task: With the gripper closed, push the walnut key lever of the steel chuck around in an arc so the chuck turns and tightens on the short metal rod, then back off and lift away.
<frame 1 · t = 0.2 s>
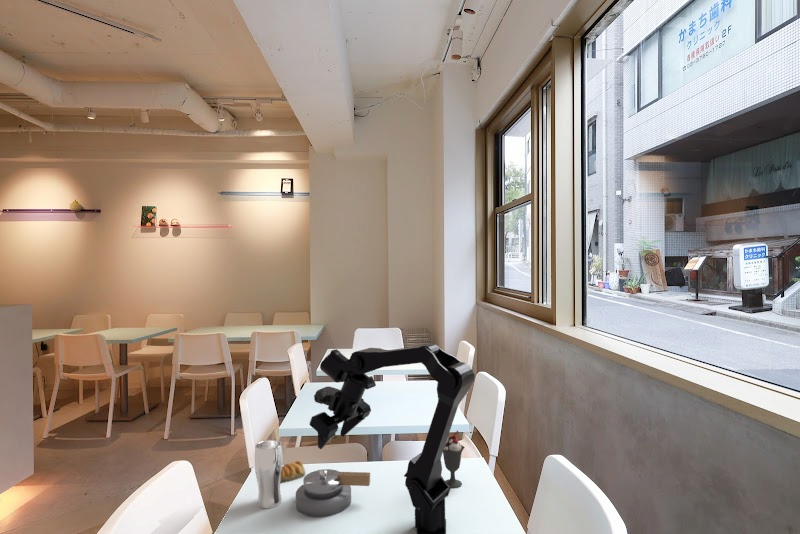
hand: (331, 441, 123), 14 cm above the table, tool tilted 30°, fingers open, 9 cm apart
chuck: (336, 480, 119), point 6 cm above the table, hinge at 0.0°
beer glass: (269, 503, 120), on the table
sundae: (453, 484, 128), on the table
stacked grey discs: (323, 502, 120), on the table
pastry: (289, 478, 135), on the table
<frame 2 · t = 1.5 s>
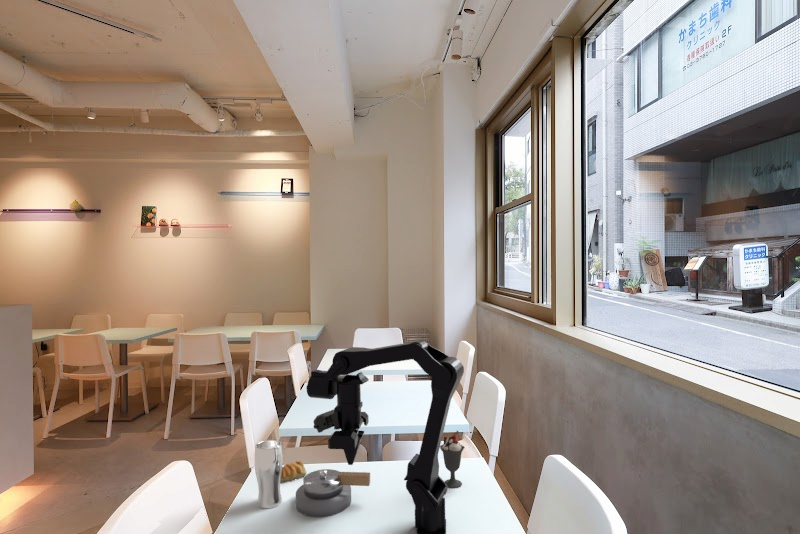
hand: (350, 464, 114), 12 cm above the table, tool pointing down, fingers closed
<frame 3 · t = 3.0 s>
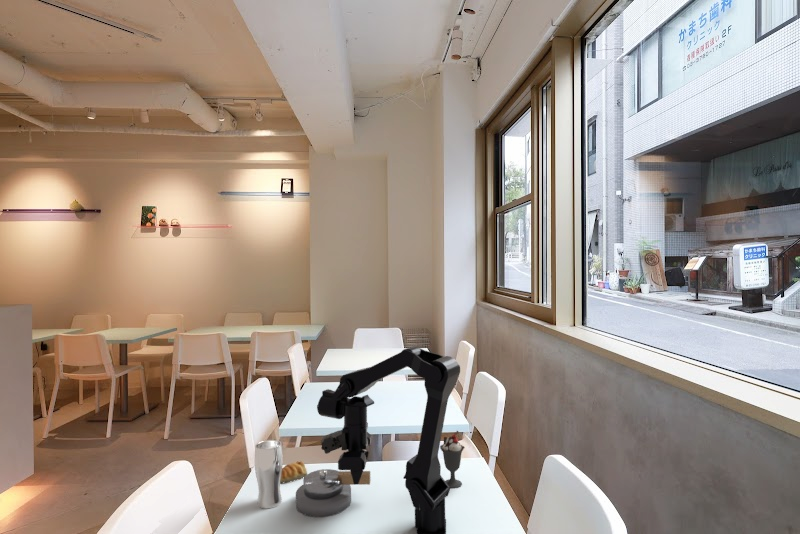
hand: (356, 484, 117), 6 cm above the table, tool pointing down, fingers closed
chuck: (336, 480, 120), point 6 cm above the table, hinge at 3.9°, touching gripper
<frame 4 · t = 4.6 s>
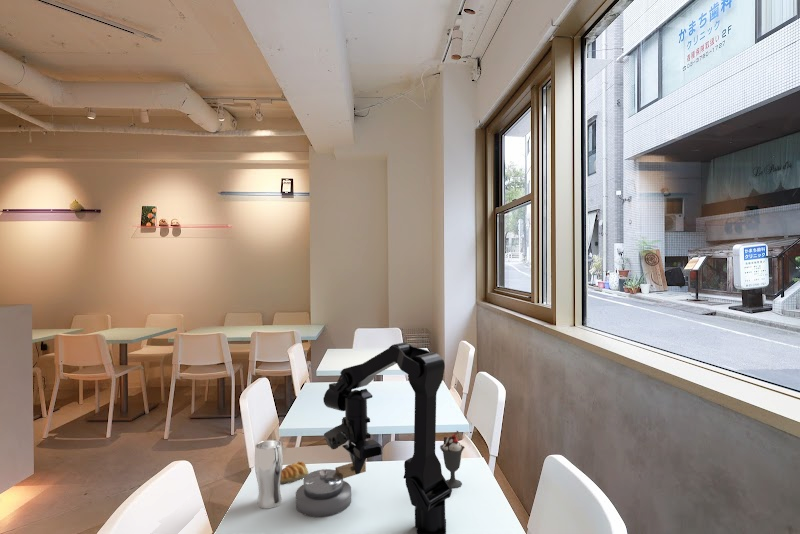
hand: (357, 473, 123), 6 cm above the table, tool pointing down, fingers closed
chuck: (335, 476, 122), point 6 cm above the table, hinge at 40.9°, touching gripper
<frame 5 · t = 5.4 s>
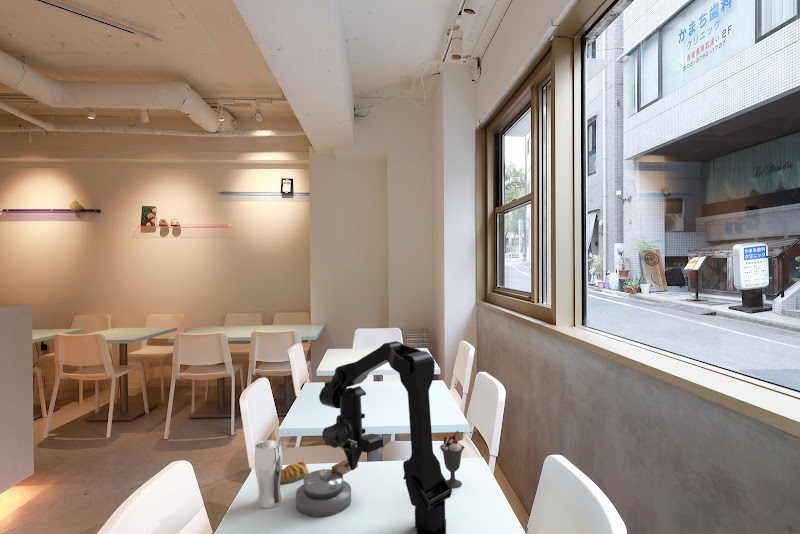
hand: (353, 469, 126), 6 cm above the table, tool pointing down, fingers closed
chuck: (333, 475, 123), point 6 cm above the table, hinge at 59.2°, touching gripper
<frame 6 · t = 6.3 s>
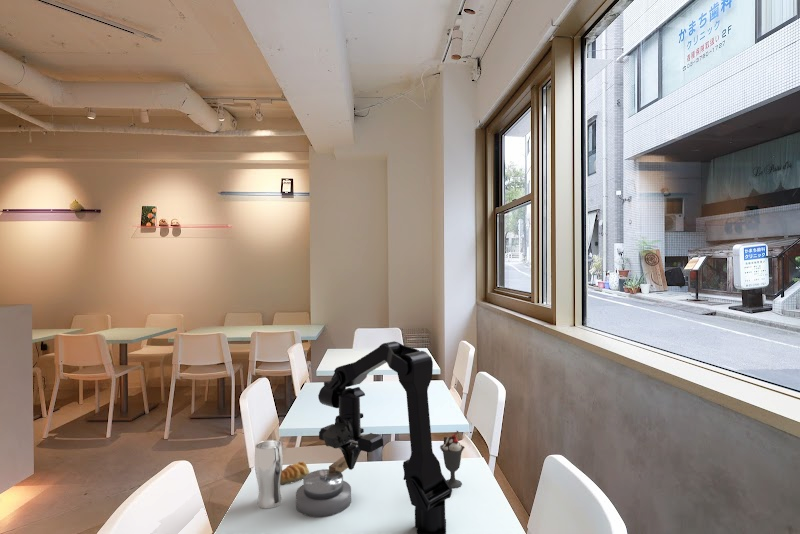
hand: (351, 469, 127), 5 cm above the table, tool pointing down, fingers closed
chuck: (331, 474, 123), point 6 cm above the table, hinge at 70.1°
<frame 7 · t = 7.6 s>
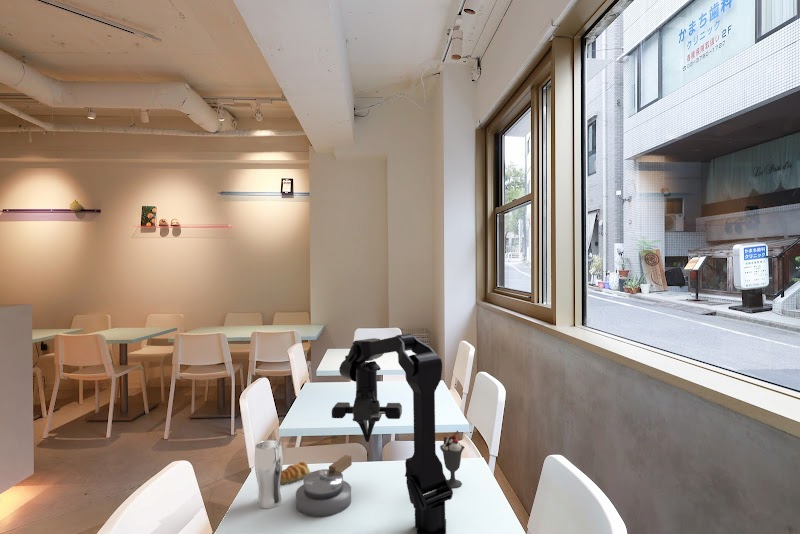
hand: (367, 441, 129), 12 cm above the table, tool pointing down, fingers closed
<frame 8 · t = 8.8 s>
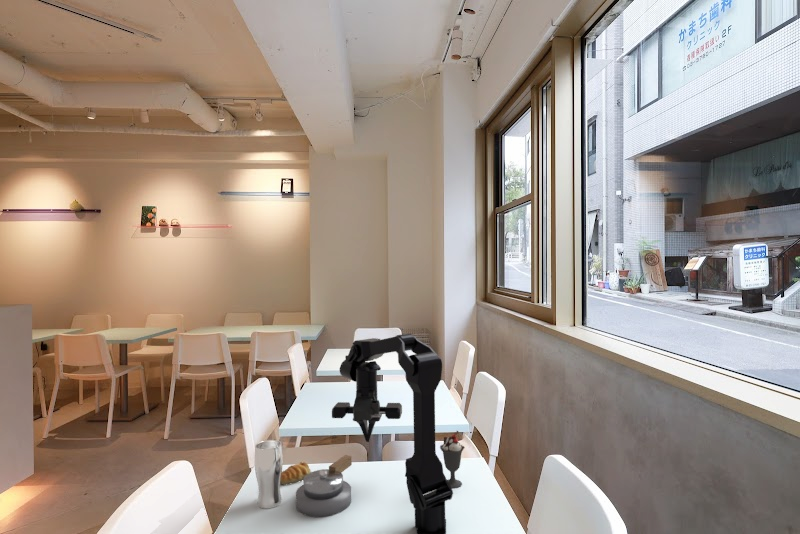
hand: (368, 441, 129), 12 cm above the table, tool pointing down, fingers closed
at the end: chuck at +70° (first picture: +0°); beer glass moved 0.2 cm from its start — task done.
